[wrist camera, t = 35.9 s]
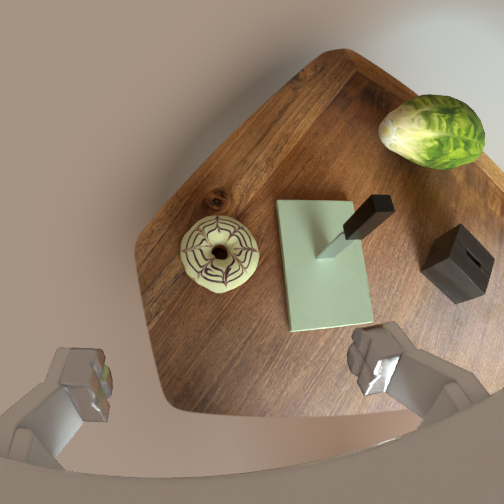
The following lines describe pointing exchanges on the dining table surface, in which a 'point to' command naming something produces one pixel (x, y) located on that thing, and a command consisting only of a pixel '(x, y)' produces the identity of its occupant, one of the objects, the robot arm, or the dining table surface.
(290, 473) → the robot arm
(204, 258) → the decorated donut
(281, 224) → the cutting board
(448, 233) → the knife block
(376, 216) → the knife
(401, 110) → the lettuce
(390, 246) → the dining table surface
